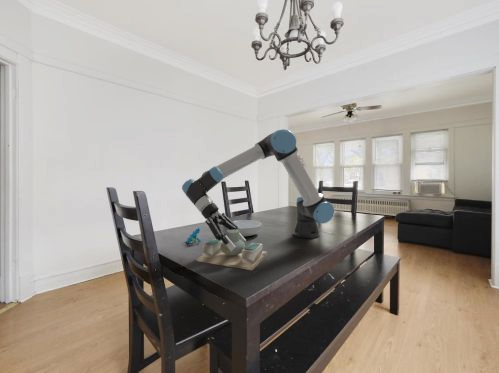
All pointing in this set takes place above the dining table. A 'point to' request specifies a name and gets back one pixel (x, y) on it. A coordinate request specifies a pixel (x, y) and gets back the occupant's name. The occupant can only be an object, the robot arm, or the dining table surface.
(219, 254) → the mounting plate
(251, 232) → the serving bowl
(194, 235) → the gear
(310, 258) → the dining table surface
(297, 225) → the robot arm
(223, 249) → the air freshener
